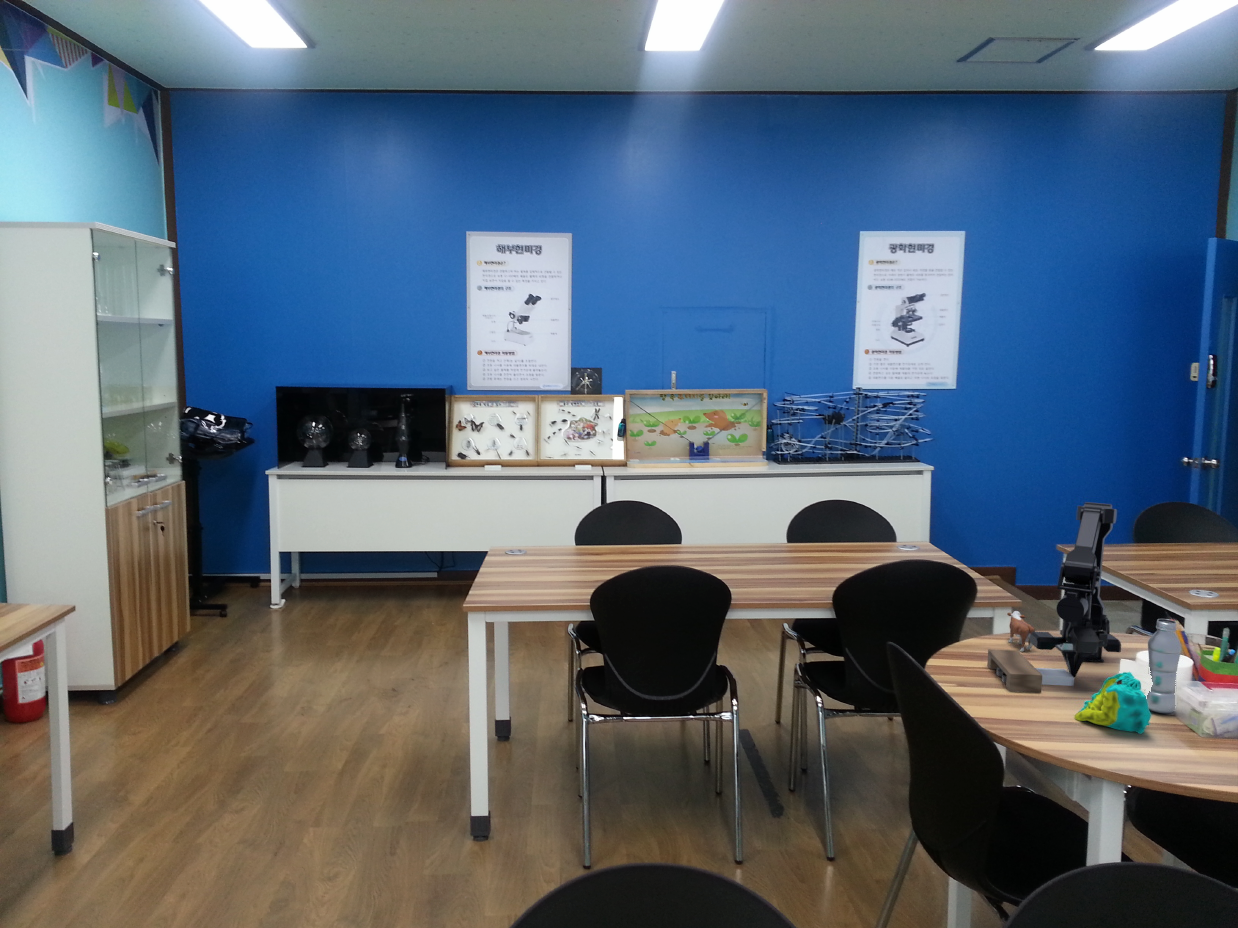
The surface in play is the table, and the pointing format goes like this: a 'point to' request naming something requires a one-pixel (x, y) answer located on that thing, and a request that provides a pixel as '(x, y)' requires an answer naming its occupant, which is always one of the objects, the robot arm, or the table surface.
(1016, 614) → the bull figurine
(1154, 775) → the table surface
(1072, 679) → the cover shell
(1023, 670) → the low shelf
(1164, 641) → the plastic bottle
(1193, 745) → the table surface
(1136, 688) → the turquoise and yellow lump
